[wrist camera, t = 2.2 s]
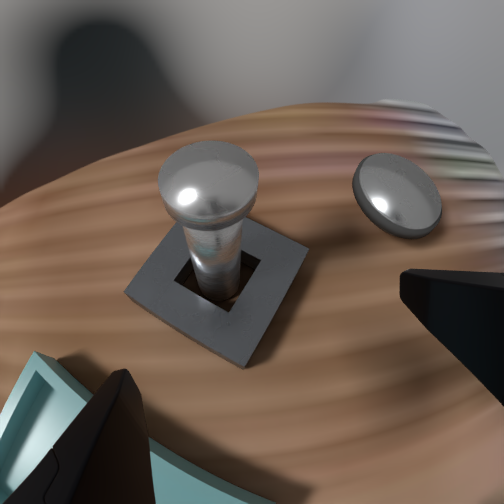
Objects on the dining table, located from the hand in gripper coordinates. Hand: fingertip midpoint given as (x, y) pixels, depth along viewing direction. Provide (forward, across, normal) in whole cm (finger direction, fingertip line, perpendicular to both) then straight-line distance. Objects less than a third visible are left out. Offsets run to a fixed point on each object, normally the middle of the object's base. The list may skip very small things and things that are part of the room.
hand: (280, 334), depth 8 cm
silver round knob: (+15, -16, +3) cm, 23 cm away
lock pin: (+15, 0, +4) cm, 15 cm away
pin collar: (+15, 0, +4) cm, 15 cm away
